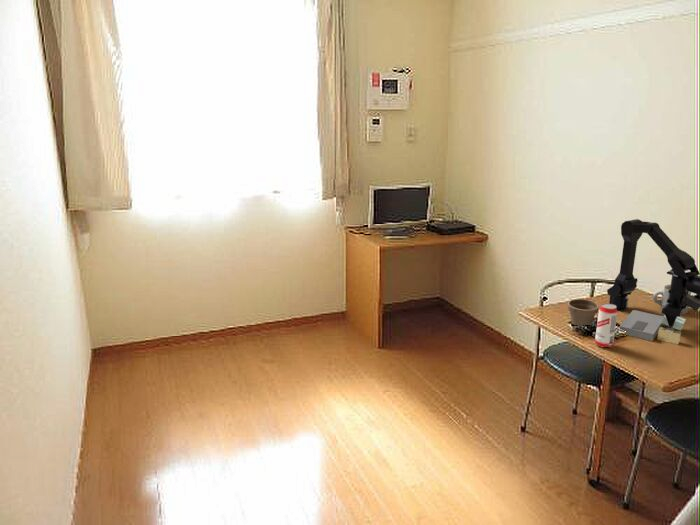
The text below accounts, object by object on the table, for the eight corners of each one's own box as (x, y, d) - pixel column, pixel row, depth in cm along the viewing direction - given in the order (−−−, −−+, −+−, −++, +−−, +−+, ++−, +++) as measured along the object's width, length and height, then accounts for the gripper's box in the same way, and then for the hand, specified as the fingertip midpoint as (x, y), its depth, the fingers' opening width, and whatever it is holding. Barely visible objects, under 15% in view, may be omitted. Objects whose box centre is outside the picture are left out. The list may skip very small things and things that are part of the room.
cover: (661, 323, 212) (664, 315, 210) (663, 318, 215) (666, 311, 214) (680, 330, 208) (683, 322, 206) (683, 326, 211) (686, 318, 210)
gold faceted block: (678, 344, 201) (680, 332, 199) (657, 339, 205) (659, 327, 203) (679, 342, 202) (681, 330, 201) (658, 337, 207) (660, 325, 205)
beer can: (605, 350, 198) (610, 310, 193) (590, 343, 203) (595, 304, 198) (616, 346, 200) (622, 307, 196) (602, 340, 206) (607, 301, 201)
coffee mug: (687, 308, 232) (691, 286, 228) (687, 316, 224) (691, 294, 220) (652, 302, 238) (655, 281, 235) (650, 310, 230) (654, 288, 227)
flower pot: (580, 335, 210) (582, 311, 207) (559, 324, 220) (561, 301, 217) (602, 329, 214) (605, 306, 211) (581, 319, 224) (583, 296, 221)
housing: (618, 333, 211) (619, 325, 210) (632, 316, 225) (633, 309, 224) (652, 341, 203) (653, 333, 202) (664, 323, 218) (665, 316, 217)
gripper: (698, 299, 195) (691, 338, 200) (707, 284, 208) (700, 321, 213) (664, 293, 202) (658, 330, 207) (674, 279, 215) (668, 314, 220)
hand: (672, 324), depth 211 cm, fingers closed on cover, 5 cm apart
